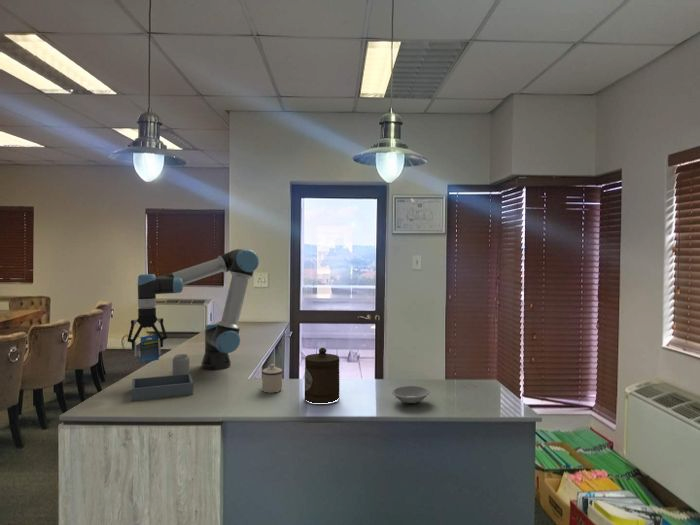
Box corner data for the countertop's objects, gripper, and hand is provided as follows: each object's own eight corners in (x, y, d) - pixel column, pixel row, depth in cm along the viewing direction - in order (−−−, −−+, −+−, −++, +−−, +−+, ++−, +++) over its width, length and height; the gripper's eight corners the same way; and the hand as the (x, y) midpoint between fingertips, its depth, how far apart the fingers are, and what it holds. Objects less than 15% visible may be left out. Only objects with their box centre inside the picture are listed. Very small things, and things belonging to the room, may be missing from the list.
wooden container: (306, 393, 192) (307, 344, 192) (340, 394, 192) (341, 344, 192) (302, 405, 178) (302, 351, 177) (338, 406, 177) (339, 352, 177)
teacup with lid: (286, 390, 196) (286, 364, 196) (269, 395, 189) (269, 368, 189) (270, 384, 204) (271, 360, 204) (254, 388, 198) (254, 363, 198)
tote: (190, 384, 203) (190, 373, 203) (193, 394, 188) (193, 383, 188) (132, 390, 193) (132, 378, 193) (131, 401, 178) (131, 389, 178)
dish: (410, 394, 194) (410, 383, 193) (437, 402, 183) (437, 391, 183) (383, 403, 181) (384, 391, 181) (411, 413, 171) (411, 400, 171)
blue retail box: (154, 358, 208) (154, 333, 207) (159, 360, 205) (158, 334, 205) (136, 362, 200) (135, 336, 200) (140, 364, 198) (140, 337, 198)
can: (183, 382, 205) (183, 357, 204) (169, 381, 206) (169, 356, 206) (192, 378, 212) (192, 353, 212) (178, 377, 213) (178, 353, 213)
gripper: (119, 309, 194) (120, 359, 195) (173, 307, 203) (173, 354, 204) (120, 307, 201) (121, 355, 202) (172, 305, 210) (172, 351, 211)
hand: (147, 355), depth 203 cm, fingers closed on blue retail box, 9 cm apart
